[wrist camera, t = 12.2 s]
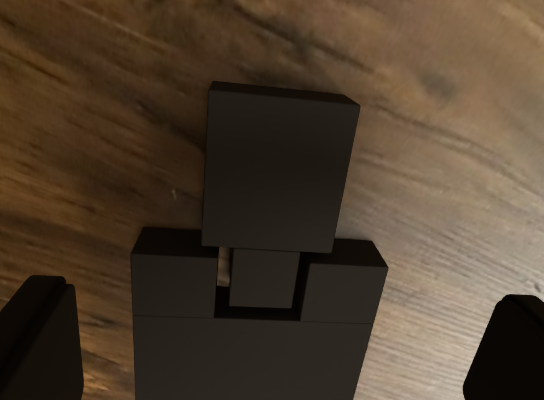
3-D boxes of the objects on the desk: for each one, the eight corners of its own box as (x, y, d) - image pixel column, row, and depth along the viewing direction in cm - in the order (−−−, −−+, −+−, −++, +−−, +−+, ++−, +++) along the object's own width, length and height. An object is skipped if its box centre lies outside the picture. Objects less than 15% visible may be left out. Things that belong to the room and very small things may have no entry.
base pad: (145, 377, 28) (135, 415, 25) (143, 226, 23) (130, 253, 20) (338, 380, 29) (348, 417, 27) (372, 240, 25) (389, 267, 22)
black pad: (202, 274, 25) (198, 305, 22) (212, 80, 20) (208, 89, 17) (311, 279, 26) (320, 310, 23) (345, 94, 21) (361, 105, 18)
